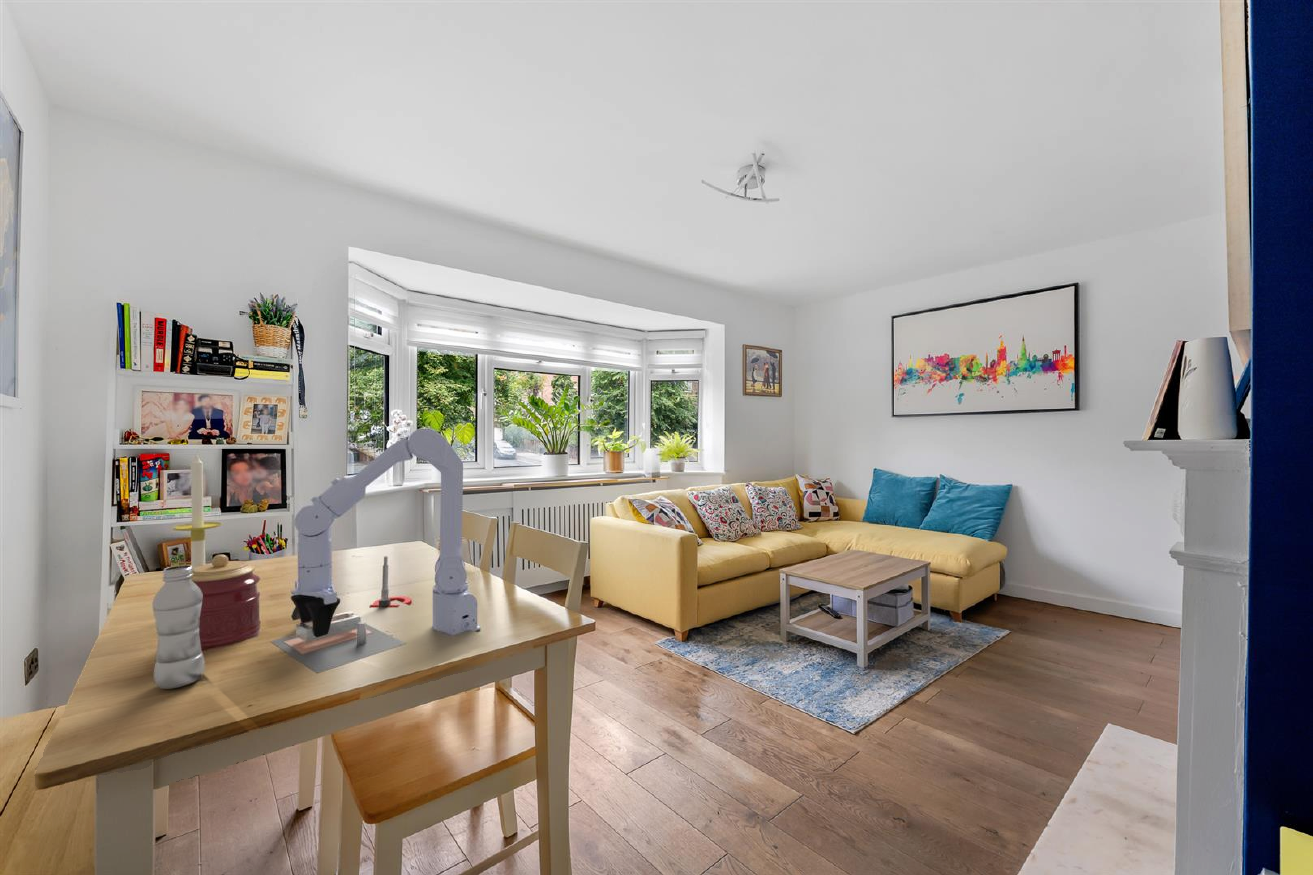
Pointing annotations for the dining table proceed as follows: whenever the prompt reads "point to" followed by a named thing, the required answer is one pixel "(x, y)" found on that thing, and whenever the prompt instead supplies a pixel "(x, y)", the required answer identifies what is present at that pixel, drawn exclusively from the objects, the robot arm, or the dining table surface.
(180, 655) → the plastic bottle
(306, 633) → the c link
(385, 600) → the tow hook
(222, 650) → the dining table surface
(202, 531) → the candle
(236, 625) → the canister
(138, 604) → the dining table surface
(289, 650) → the post board
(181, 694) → the dining table surface
